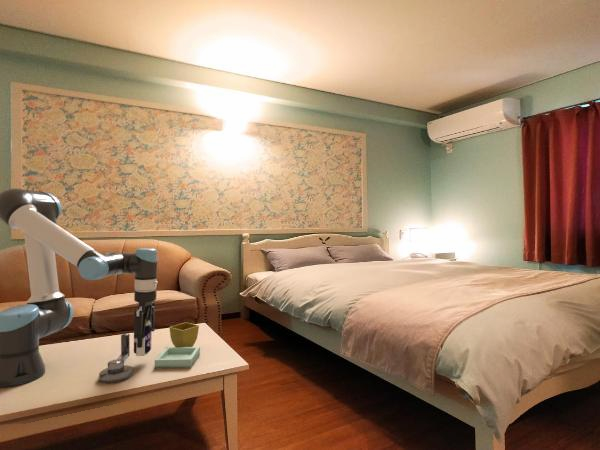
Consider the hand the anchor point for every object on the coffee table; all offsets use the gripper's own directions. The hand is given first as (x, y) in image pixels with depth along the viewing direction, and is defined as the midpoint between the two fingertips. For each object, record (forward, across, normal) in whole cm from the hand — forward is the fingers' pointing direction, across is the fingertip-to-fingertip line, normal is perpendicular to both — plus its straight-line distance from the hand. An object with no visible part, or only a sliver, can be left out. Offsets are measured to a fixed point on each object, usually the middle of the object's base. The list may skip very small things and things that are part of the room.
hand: (143, 352), depth 130 cm
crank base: (+4, -11, +5) cm, 13 cm away
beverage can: (+1, 0, +1) cm, 1 cm away
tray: (+4, +2, -12) cm, 13 cm away
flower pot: (+4, +17, -10) cm, 20 cm away
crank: (+2, -6, +6) cm, 9 cm away
